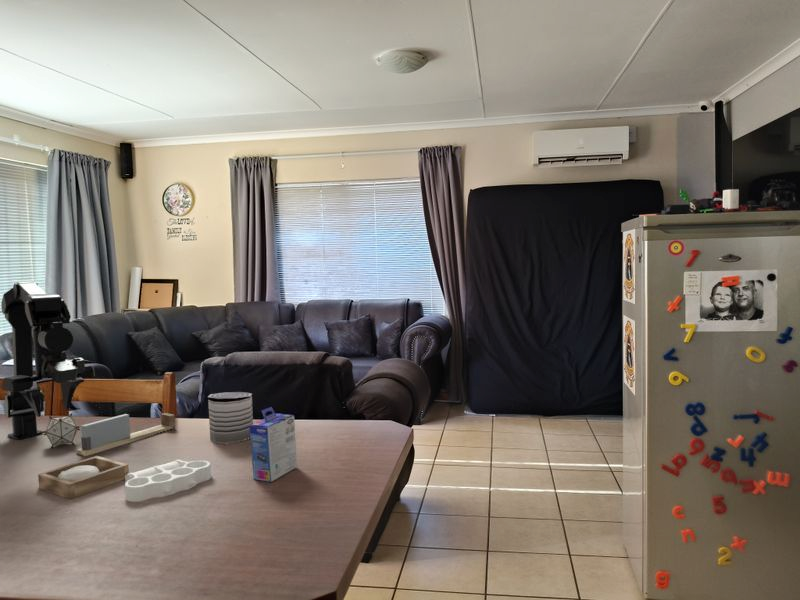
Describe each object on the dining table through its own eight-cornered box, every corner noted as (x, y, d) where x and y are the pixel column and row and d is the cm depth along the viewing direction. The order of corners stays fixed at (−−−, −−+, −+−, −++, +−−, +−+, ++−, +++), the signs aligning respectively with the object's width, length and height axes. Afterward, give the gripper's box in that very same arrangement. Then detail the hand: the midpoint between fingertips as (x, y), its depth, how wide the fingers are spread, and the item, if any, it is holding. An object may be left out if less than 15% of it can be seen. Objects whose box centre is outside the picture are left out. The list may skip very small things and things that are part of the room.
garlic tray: (39, 488, 125) (38, 474, 125) (97, 468, 136) (96, 455, 136) (70, 499, 118) (69, 484, 118) (129, 477, 129) (128, 464, 129)
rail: (76, 453, 147) (75, 438, 146) (166, 426, 169) (165, 412, 168) (85, 456, 144) (84, 440, 144) (175, 428, 167) (174, 414, 166)
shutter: (81, 448, 147) (80, 425, 146) (126, 435, 157) (124, 413, 157) (87, 450, 146) (85, 426, 145) (131, 436, 156) (130, 414, 155)
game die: (67, 460, 153) (64, 436, 147) (36, 450, 153) (32, 425, 147) (88, 435, 160) (86, 411, 154) (58, 424, 160) (56, 400, 154)
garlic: (55, 493, 122) (53, 476, 122) (60, 482, 128) (59, 465, 128) (98, 487, 125) (96, 469, 125) (101, 476, 131) (100, 460, 131)
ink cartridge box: (278, 464, 136) (275, 402, 135) (298, 467, 133) (295, 404, 132) (250, 479, 127) (247, 413, 126) (271, 483, 124) (268, 416, 123)
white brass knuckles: (190, 467, 137) (222, 482, 126) (109, 490, 123) (138, 510, 113) (189, 452, 136) (222, 467, 126) (108, 475, 123) (137, 493, 113)
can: (200, 440, 155) (198, 395, 154) (233, 428, 165) (231, 386, 164) (230, 446, 149) (228, 400, 148) (263, 434, 159) (261, 390, 158)
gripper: (23, 356, 126) (28, 427, 127) (105, 344, 142) (109, 407, 143) (-2, 353, 132) (3, 421, 133) (79, 342, 148) (84, 402, 149)
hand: (52, 413), depth 140 cm, fingers open, 6 cm apart
